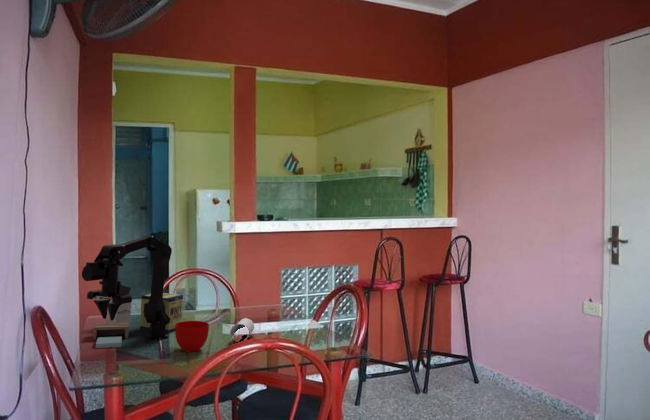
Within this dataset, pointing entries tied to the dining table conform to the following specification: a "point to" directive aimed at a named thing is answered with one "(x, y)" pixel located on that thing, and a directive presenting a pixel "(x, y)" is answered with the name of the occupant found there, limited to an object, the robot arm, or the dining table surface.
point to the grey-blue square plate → (108, 342)
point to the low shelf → (110, 329)
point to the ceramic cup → (191, 335)
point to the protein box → (171, 308)
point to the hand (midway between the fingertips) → (108, 319)
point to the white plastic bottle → (241, 324)
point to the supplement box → (121, 314)
